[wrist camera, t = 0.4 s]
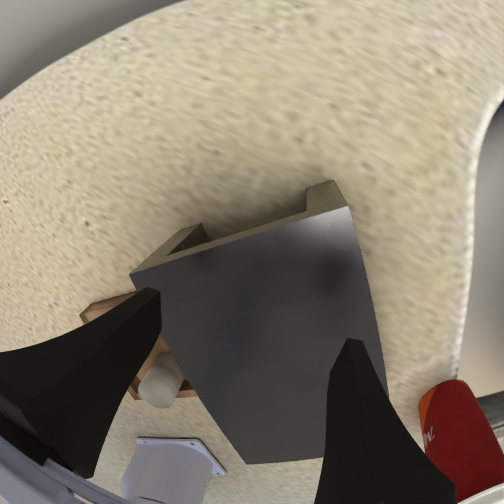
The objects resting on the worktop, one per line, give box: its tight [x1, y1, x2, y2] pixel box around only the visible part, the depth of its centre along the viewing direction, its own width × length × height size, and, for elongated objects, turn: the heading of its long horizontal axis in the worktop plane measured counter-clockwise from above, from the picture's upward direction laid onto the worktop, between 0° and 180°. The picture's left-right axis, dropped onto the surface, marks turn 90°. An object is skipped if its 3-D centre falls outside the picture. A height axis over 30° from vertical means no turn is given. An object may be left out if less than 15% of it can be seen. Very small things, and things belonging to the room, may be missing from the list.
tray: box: [79, 291, 198, 408], centre depth 25 cm, size 14×10×4 cm
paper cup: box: [419, 380, 504, 504], centre depth 18 cm, size 8×8×14 cm
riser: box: [129, 180, 389, 464], centre depth 20 cm, size 11×17×7 cm, turn 21°
